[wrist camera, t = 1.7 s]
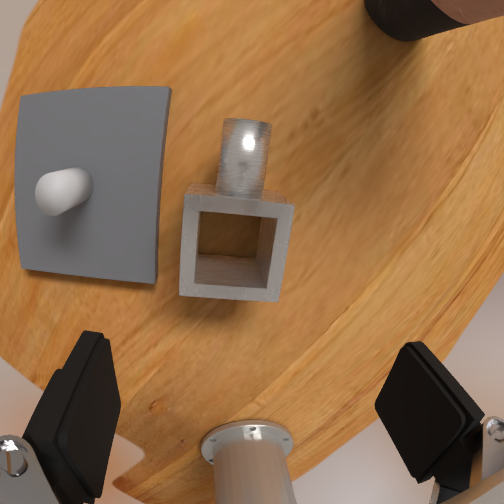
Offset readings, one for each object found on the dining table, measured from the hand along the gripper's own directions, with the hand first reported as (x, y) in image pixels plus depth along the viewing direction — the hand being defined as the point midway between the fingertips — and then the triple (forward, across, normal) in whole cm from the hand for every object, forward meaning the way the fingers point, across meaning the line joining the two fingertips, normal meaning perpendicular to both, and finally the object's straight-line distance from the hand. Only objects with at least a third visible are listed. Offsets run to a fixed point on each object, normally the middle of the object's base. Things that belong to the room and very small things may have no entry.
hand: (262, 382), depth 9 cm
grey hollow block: (+18, 0, -2) cm, 18 cm away
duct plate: (+18, +13, -3) cm, 23 cm away
